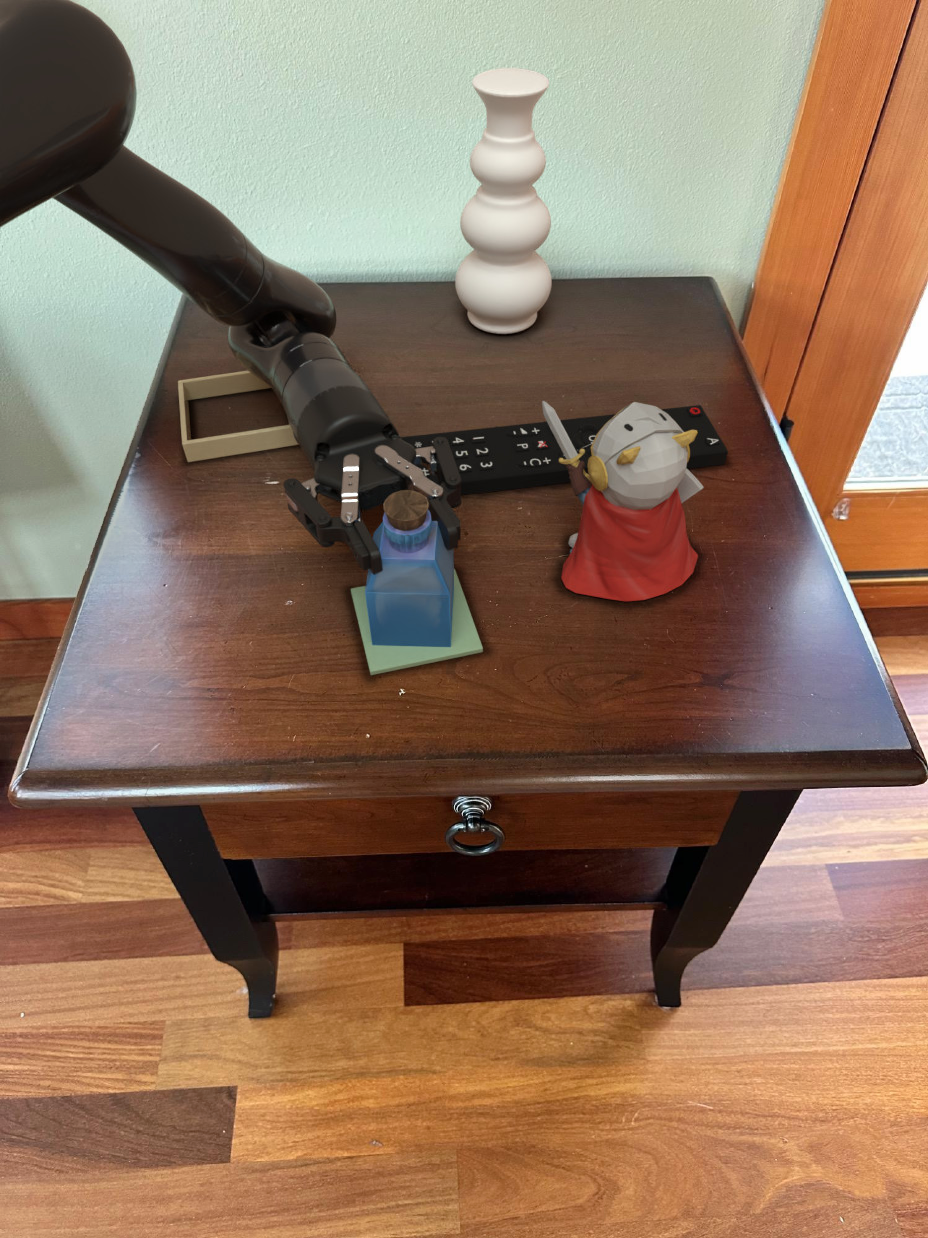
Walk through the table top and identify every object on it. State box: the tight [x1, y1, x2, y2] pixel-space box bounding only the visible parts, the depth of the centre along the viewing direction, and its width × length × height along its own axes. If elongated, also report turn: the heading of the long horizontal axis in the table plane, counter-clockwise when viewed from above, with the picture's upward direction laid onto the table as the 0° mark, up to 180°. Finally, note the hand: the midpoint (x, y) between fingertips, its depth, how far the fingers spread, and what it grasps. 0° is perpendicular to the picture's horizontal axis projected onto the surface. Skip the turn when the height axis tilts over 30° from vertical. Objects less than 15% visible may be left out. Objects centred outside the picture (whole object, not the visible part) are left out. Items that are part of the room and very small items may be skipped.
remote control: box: [400, 404, 729, 496], centre depth 81 cm, size 8×32×2 cm, turn 100°
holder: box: [177, 370, 300, 463], centre depth 85 cm, size 11×11×2 cm
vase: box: [454, 67, 553, 335], centre depth 89 cm, size 11×11×25 cm
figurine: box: [541, 400, 704, 603], centre depth 67 cm, size 13×12×15 cm
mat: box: [350, 568, 484, 676], centre depth 68 cm, size 9×9×1 cm
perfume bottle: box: [365, 490, 455, 647], centre depth 63 cm, size 6×6×12 cm
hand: (415, 552), depth 60 cm, fingers closed on perfume bottle, 5 cm apart
